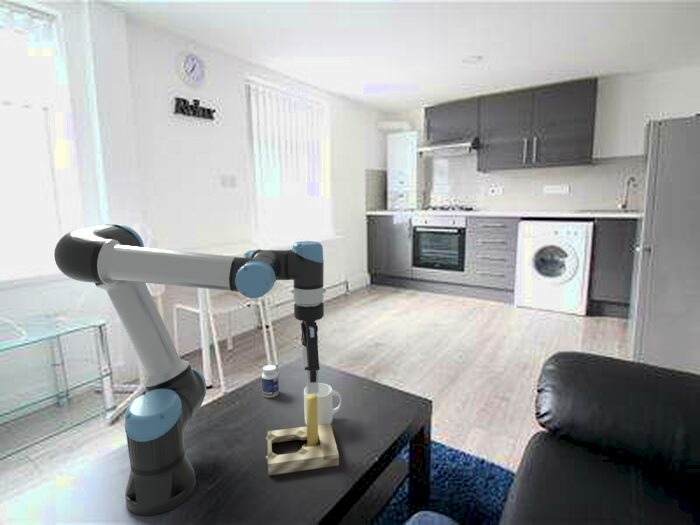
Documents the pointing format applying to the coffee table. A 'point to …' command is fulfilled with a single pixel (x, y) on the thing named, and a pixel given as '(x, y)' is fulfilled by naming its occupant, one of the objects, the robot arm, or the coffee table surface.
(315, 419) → the headed peg
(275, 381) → the pill bottle
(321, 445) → the keyhole board
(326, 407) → the mug
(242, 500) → the coffee table surface
